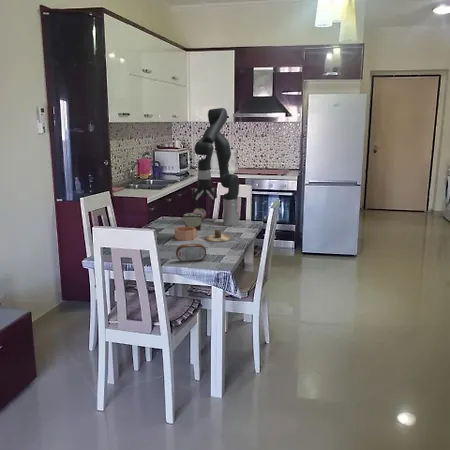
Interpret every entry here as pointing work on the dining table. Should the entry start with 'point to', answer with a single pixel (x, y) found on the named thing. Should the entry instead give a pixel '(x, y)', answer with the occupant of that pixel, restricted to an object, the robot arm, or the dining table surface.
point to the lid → (218, 237)
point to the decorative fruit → (200, 212)
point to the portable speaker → (191, 252)
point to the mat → (217, 242)
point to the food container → (193, 220)
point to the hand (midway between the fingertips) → (204, 205)
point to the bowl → (185, 233)
